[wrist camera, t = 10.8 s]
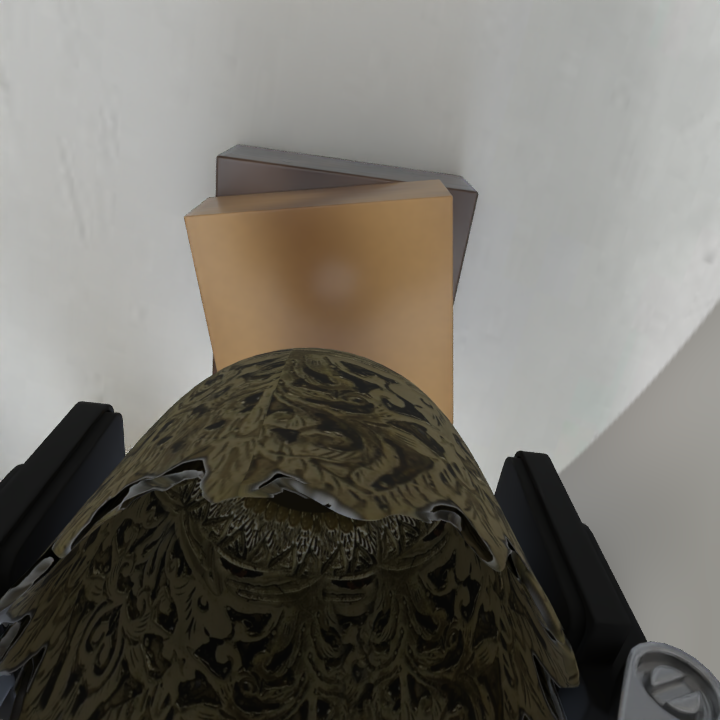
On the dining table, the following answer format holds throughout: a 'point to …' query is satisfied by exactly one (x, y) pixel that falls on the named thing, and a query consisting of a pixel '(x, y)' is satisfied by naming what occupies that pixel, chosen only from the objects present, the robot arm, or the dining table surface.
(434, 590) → the dark bronze dome
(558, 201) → the dining table surface
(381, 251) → the block stack
